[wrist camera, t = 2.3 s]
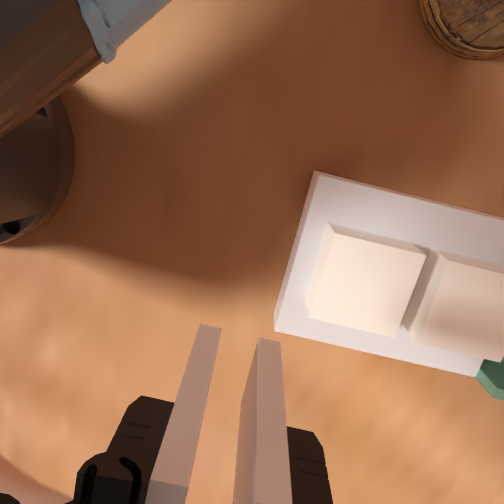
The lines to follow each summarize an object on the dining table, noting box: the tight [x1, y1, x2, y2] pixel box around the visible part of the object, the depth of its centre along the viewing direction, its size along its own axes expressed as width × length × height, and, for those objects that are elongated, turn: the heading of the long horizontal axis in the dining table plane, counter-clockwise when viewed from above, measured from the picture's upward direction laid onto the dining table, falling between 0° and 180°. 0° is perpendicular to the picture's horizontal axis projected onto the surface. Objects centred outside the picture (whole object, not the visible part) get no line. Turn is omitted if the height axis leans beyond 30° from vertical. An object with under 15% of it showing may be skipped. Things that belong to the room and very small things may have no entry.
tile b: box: [402, 248, 504, 362], centre depth 28 cm, size 6×6×3 cm
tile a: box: [304, 223, 427, 338], centre depth 28 cm, size 6×6×3 cm
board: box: [274, 170, 504, 377], centre depth 31 cm, size 16×12×3 cm
